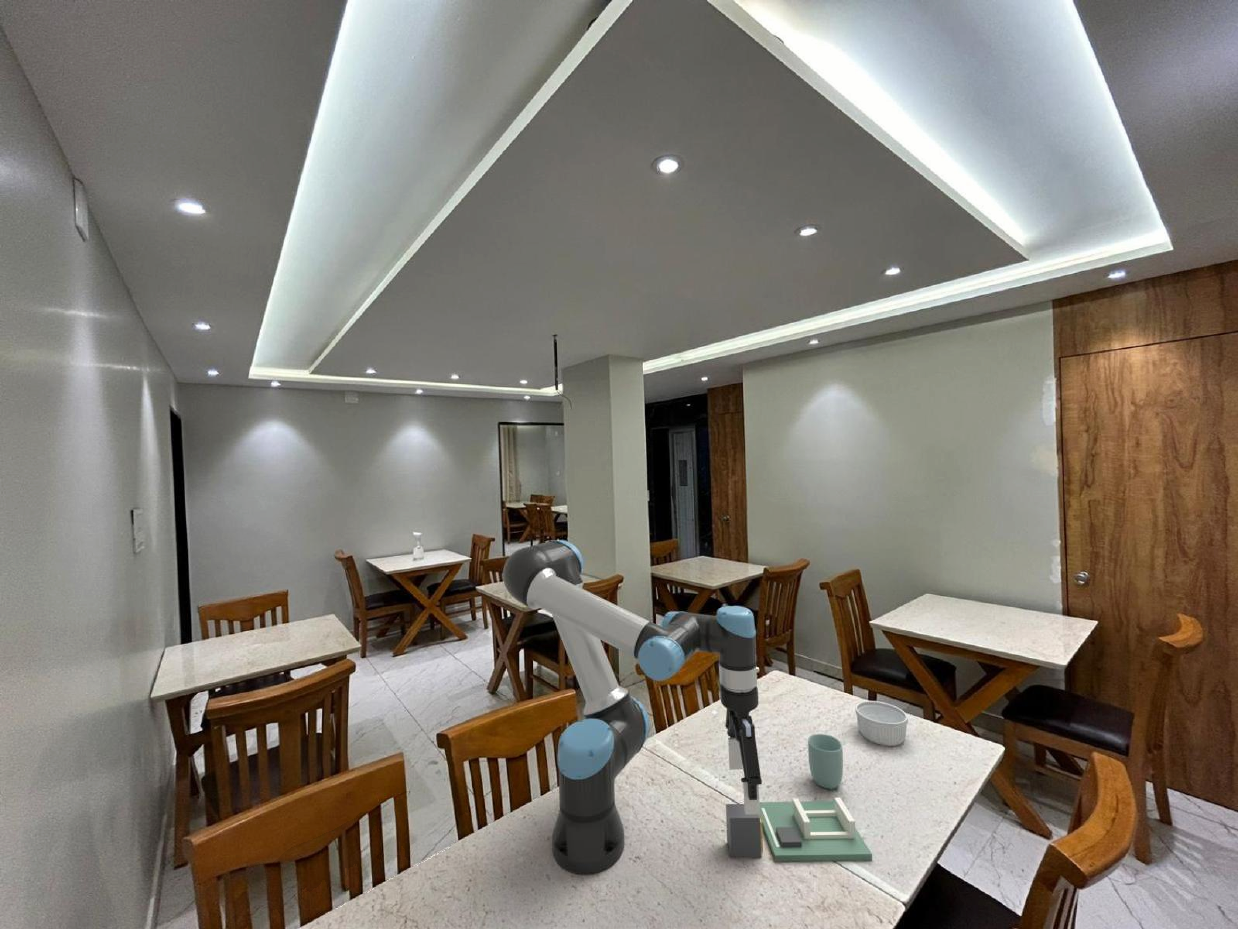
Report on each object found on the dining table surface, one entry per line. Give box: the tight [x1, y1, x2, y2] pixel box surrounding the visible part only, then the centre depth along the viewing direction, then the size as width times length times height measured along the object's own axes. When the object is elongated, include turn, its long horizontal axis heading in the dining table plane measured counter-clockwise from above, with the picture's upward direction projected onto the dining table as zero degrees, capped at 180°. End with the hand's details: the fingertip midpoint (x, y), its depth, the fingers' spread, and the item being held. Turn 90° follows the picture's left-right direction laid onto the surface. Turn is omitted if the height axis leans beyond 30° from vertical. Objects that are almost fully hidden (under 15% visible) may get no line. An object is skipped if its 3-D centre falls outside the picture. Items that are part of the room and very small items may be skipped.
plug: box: [725, 803, 764, 859], centre depth 98 cm, size 7×4×8 cm, turn 89°
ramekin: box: [855, 700, 909, 747], centre depth 137 cm, size 13×13×7 cm
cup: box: [807, 733, 844, 790], centre depth 117 cm, size 8×8×10 cm
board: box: [759, 797, 873, 863], centre depth 102 cm, size 19×15×5 cm
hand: (743, 789), depth 97 cm, fingers open, 13 cm apart
